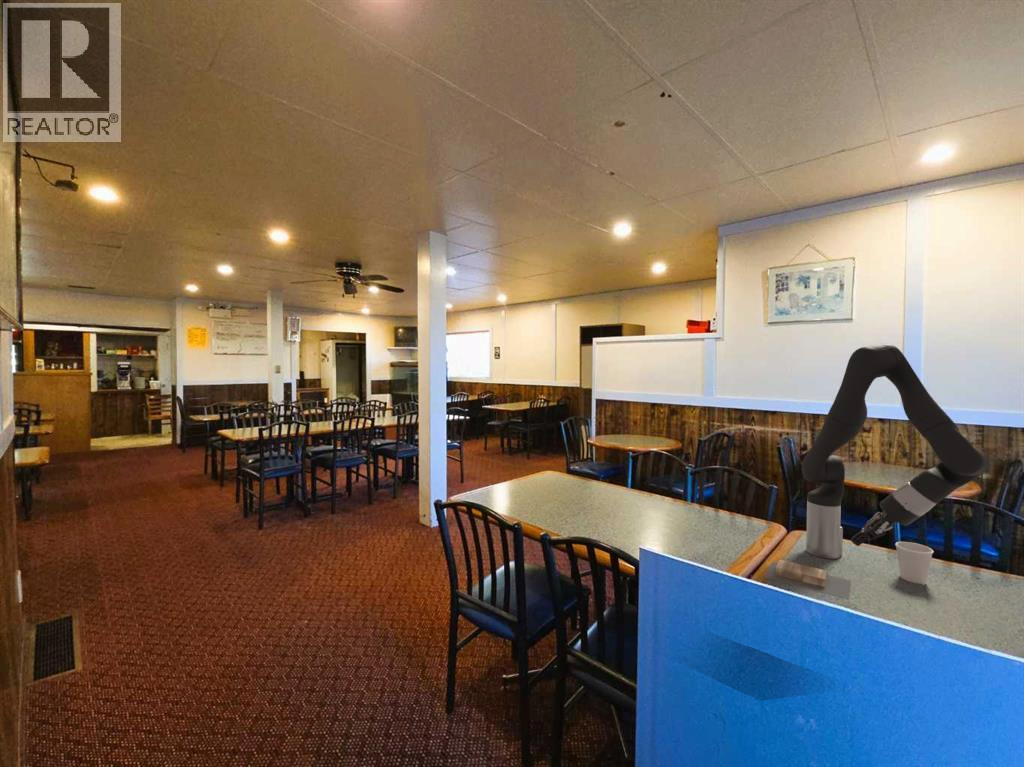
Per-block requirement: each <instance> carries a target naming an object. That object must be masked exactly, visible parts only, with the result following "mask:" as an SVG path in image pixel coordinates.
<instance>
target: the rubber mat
mask: <svg viewBox="0 0 1024 767" xmlns="http://www.w3.org/2000/svg"><path fill="white" fill-rule="evenodd" d="M777 564H778V562H775V561H771V563H770V565H769V566H768V568H767V571H766V572H765V573H764V576H763V578H764V579H770V580H773V581H776V582H781V583H784V584H788V585H792V586H795V587H800V588H803V589H807V590H811V591H813V592H818V593H822V594H826V595H830V596H834V597H838V598H841V599H845V600H850V592H851V582H852V580H851V579H846V578H842V577H839V576H833V575H829V574H827V580H826V584H825V588H823V587H819V586H815V585H811V584H807V583H803V582H799V581H795V580H792V579H788V578H784V577H780V576H776V566H777Z"/></svg>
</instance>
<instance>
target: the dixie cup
mask: <svg viewBox="0 0 1024 767" xmlns="http://www.w3.org/2000/svg"><path fill="white" fill-rule="evenodd" d="M894 545H895V547H896V554H897V562H898V569H899V570H898V571H899V577H900V578H901V579H903V580H904V581H907V582H910V583H913V584H920V585H921V584H922V585H923V586H926V585H927V581H928V579H929V578H928V577H929V576H928V575H929V573H930V567H931V562H932V557H933V554H934V552H935V551H934V550H933V549H932V548H931V547H928V546H926V545H924V544H920V543H916V542H910V541H896V543H895V544H894ZM925 584H926V585H925Z"/></svg>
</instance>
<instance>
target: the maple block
mask: <svg viewBox="0 0 1024 767" xmlns="http://www.w3.org/2000/svg"><path fill="white" fill-rule="evenodd" d="M777 563H778V564H777V566H776V576H780V577H784V578H788V579H792V580H795V581H799V582H803V583H807V584H811V585H815V586H819V587H823V588H825V584H826V580H827V575H828V570H827V569H820V568H818V567H813V566H809V565H805V564H800V563H795V562H792V561H787V560H783V559H779V560H778V562H777Z"/></svg>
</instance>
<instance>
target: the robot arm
mask: <svg viewBox="0 0 1024 767" xmlns="http://www.w3.org/2000/svg"><path fill="white" fill-rule="evenodd" d="M882 377H884V378H886V379H887V380H889V381H890V382H891V383H892V385H894V387H896V389H897V391H898V392H899V395H900V399H901V403H902V407H903V411H904V414H905V416H906V418H907V419H908V420H909V422H910V424H912V426H913V427H914V428H915V429H916V430H917V431H918V433H919V435H921V436H922V437H923V438H924V439H925V440H926V442H928V444H929V445H930V447H931V449H932V451H933V452H934V453H935V455H936V457H937V458H938V459H939V460H940V462H939V463H937V464H936V465H935V466H933V467H930V468H928V469H924V471H922V472H920V473H919V474H917V475H916V476H915V477H913V478H912V479H911V480H909V481H908V482H906V483H904V484H903V485H901V486H899V488H897V489H895V490H894V491H893V492H892V493H890V494H889V495H888V496H886V497H885V498H884V499H883V500H881V501H880V502H879V507H880V508H881V510H882V511H881V512H880V511H876V512H875V513H874V514H873V516H871V518H870V519H869V520H867V522H865V523H864V524H863V526H862V528H861V530H860V531H859V532H857V533H856V534H855V535H853V536H852V537H851V538H850V541H851V543H852V544H854V545H855V546H856V547H859V546H861V545H862V544H863V543H865V542H867V541H868V540H869V541H870V540H871V541H873V540H875V539H878V538H880V537H883V536H886V535H887V531H890V530H892V529H893V528H894V524H896V523H898V524H900V525H901V526H905V527H908V526H909V525H911V524H913V523H914V522H915V521H917V519H920V517H922V516H924V515H925V514H927V513H928V512H929V511H930V510H932V509H933V508H934V507H935V506H936V505H937V504H938V503H940V502H942V501H943V500H944V499H946V498H947V497H948V496H949V495H951V494H952V493H953V492H955V491H956V490H958V489H959V488H961V487H963V486H965V485H966V484H968V483H970V482H972V481H973V480H975V479H977V478H978V477H980V476H981V475H983V474H985V472H986V471H988V469H989V467H990V458H989V457H988V455H987V454H986V453H985V452H984V451H982V450H980V449H978V448H976V447H974V446H973V445H972V444H971V443H970V442H969V441H968V440H967V439H966V437H964V435H963V434H962V433H961V432H960V428H959V427H958V425H957V424H956V422H954V420H953V419H952V418H951V417H950V416H949V415H948V414H947V413H946V412H945V411H944V410H943V409H942V408H941V407H940V405H939V403H937V401H935V400H934V398H933V397H932V395H930V393H929V392H928V390H927V388H925V385H924V384H923V383H922V381H921V380H920V378H919V376H918V375H917V374H916V372H915V370H914V369H913V367H912V366H911V364H910V363H909V361H908V359H907V357H905V354H903V353H902V351H901V350H900V349H899V348H898V347H897V346H895V345H893V344H891V343H879V344H873V345H872V344H871V345H866V346H861V347H860V348H857V349H855V351H853V353H852V354H851V355H850V357H849V359H848V362H847V365H846V369H845V372H844V375H843V378H842V381H841V383H840V386H839V389H838V391H837V394H836V396H835V398H834V401H833V403H832V405H831V407H830V409H829V411H828V413H827V415H826V417H825V420H824V422H823V425H822V426H821V429H820V431H819V433H818V435H817V437H816V438H815V440H814V442H813V444H812V445H811V447H810V448H809V450H808V451H807V453H806V455H805V456H804V459H803V461H802V464H801V474H802V477H803V479H804V480H806V481H808V482H810V483H815V484H816V483H817V484H819V483H820V484H821V483H822V484H821V486H819V487H817V488H815V489H812V490H810V491H809V492H808V493H807V494H806V495H807V496H806V497H807V498H806V499H807V501H806V503H807V504H806V537H805V538H806V539H805V540H806V546H805V550H806V552H807V553H808V554H810V555H813V556H816V557H819V558H823V559H829V560H830V559H831V560H832V559H833V560H835V559H839V558H840V557H843V541H844V539H843V538H844V537H843V535H844V534H843V533H844V529H843V527H842V526H841V510H842V509H841V505H842V499H843V497H844V489H845V488H844V486H845V479H846V470H845V469H846V468H845V464H844V461H843V460H842V458H841V457H839V456H838V455H836V454H835V455H832V454H833V453H835V452H836V451H837V450H839V449H840V448H841V447H843V446H845V445H847V444H848V443H850V442H851V441H853V440H854V439H855V438H857V436H858V435H859V433H860V432H861V430H862V428H863V426H864V424H865V423H866V421H867V419H868V407H867V403H866V396H867V393H868V390H869V389H870V387H871V385H872V383H873V382H874V381H875V380H876V379H877V378H882Z"/></svg>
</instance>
